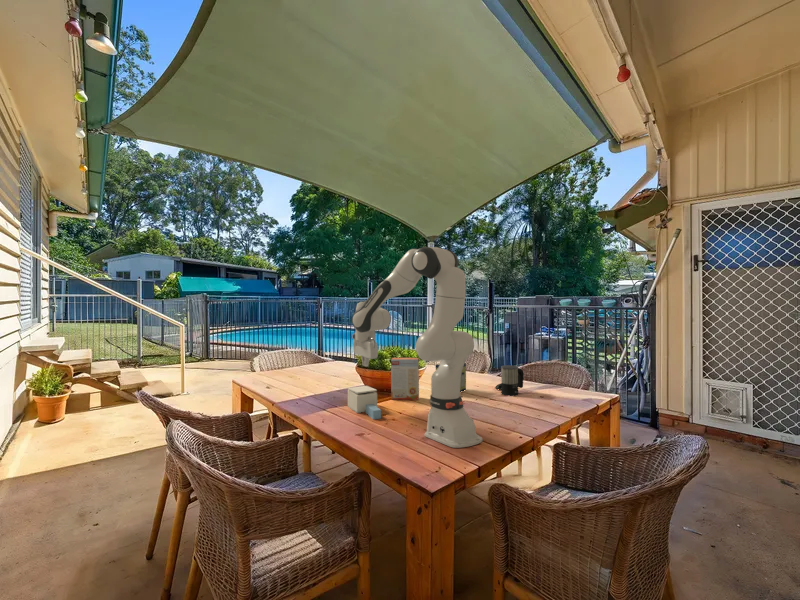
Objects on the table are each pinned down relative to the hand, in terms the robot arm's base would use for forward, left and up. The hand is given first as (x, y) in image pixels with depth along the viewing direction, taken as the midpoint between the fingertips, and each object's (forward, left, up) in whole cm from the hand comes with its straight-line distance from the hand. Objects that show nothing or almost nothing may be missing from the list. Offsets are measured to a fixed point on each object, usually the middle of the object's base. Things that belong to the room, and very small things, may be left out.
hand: (365, 366), depth 174 cm
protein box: (+9, -55, -21) cm, 59 cm away
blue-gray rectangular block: (-8, 0, -21) cm, 22 cm away
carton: (+4, 0, -21) cm, 21 cm away
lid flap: (+4, 0, -12) cm, 13 cm away
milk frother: (-6, -81, -21) cm, 84 cm away
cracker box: (+9, -26, -21) cm, 34 cm away
